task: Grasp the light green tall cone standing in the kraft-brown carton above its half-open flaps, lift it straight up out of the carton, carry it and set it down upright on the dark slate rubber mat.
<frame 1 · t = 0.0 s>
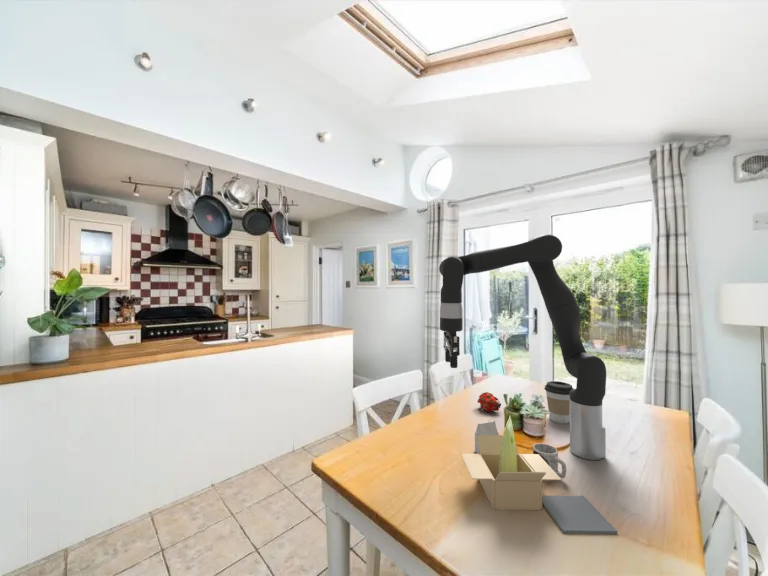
hand: (451, 364, 105), 29 cm above the table, fingers open, 8 cm apart
coffee cup: (559, 420, 132), on the table
light green tall cone: (507, 493, 84), resting in carton
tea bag: (486, 453, 105), on the table
dragon fruit: (489, 411, 142), on the table
mug: (550, 474, 93), on the table
mat: (574, 514, 76), on the table
carton: (507, 492, 84), on the table
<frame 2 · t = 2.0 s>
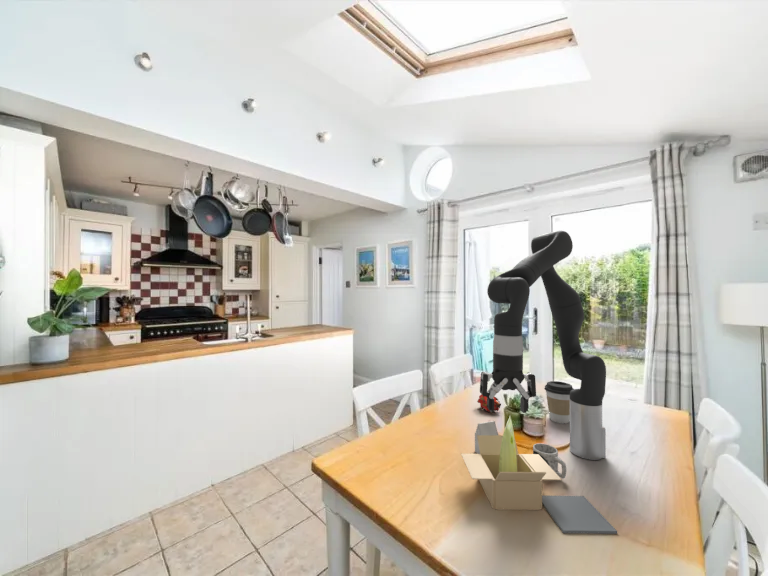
hand: (507, 411, 84), 22 cm above the table, fingers open, 8 cm apart
nothing on the table moved.
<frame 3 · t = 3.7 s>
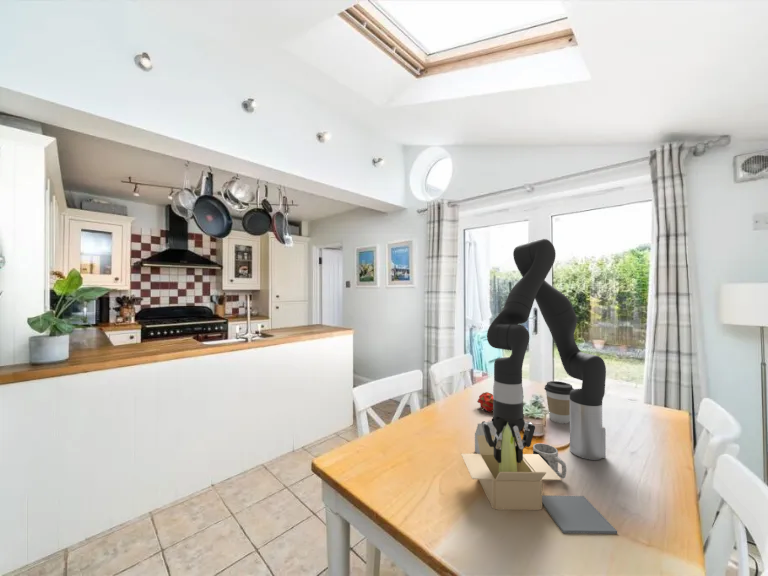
hand: (508, 461, 84), 8 cm above the table, fingers closed on light green tall cone, 4 cm apart
light green tall cone: (507, 493, 84), resting in carton, touching gripper
everything else where it was.
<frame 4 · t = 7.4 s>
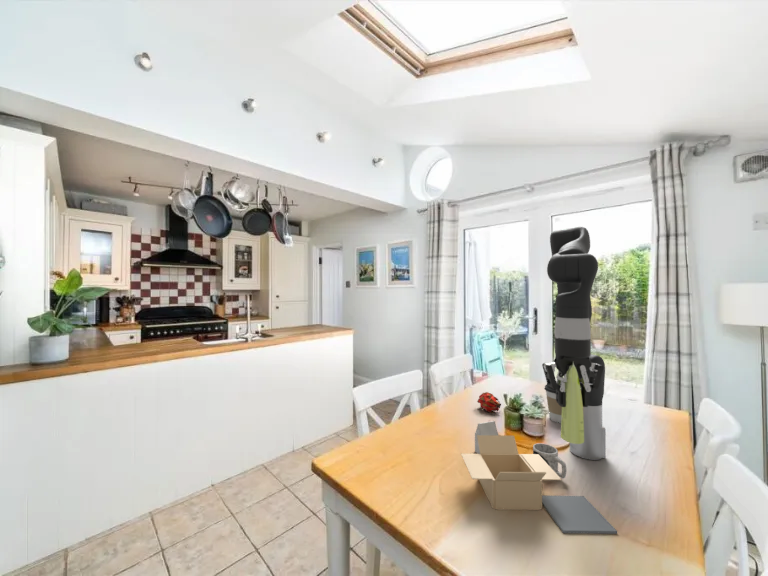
hand: (572, 405, 76), 26 cm above the table, fingers closed on light green tall cone, 4 cm apart
light green tall cone: (572, 441, 76), point 18 cm above the table, touching gripper
everything else where it was.
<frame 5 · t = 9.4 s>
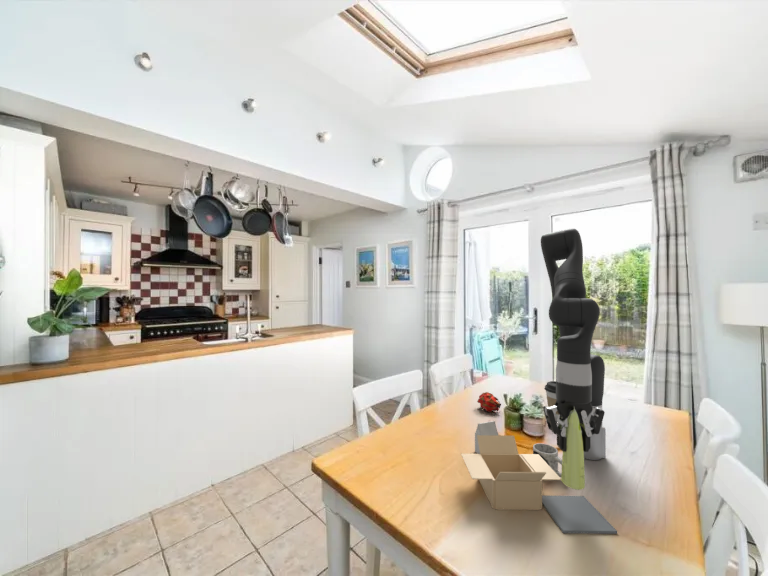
hand: (573, 449, 76), 15 cm above the table, fingers closed on light green tall cone, 4 cm apart
light green tall cone: (572, 485, 76), point 7 cm above the table, touching gripper
everything else where it was.
when the fingers open (10 cm above the table, at t = 10.9 s): light green tall cone stays where it is, resting on mat.
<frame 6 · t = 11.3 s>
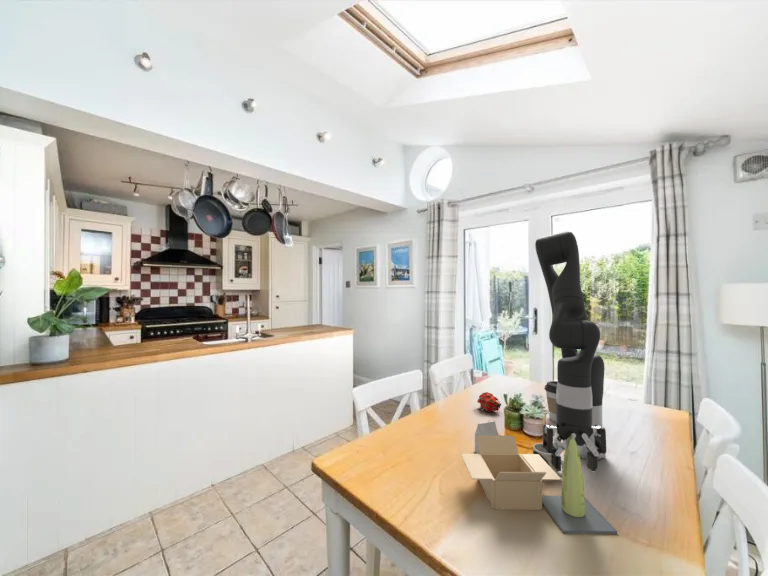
hand: (574, 469, 76), 11 cm above the table, fingers open, 8 cm apart
light green tall cone: (573, 512, 76), resting on mat
everything else where it was.
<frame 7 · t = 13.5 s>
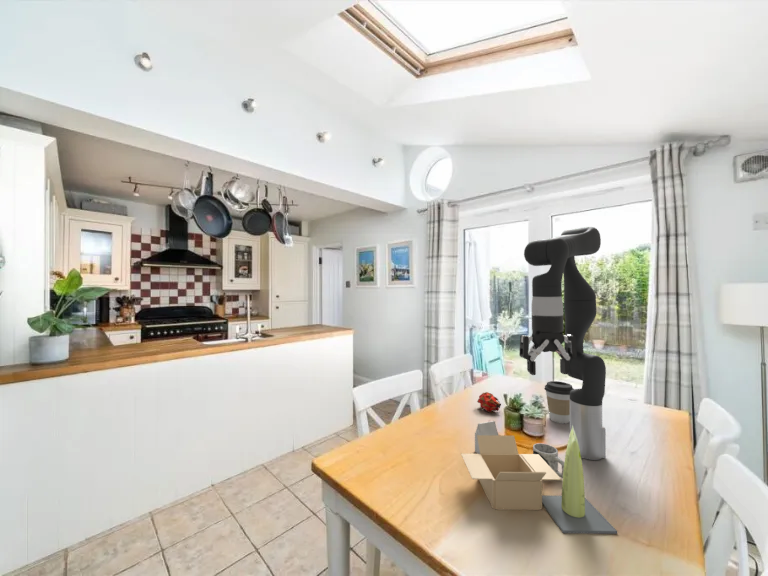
hand: (548, 374, 84), 32 cm above the table, fingers open, 8 cm apart
nothing on the table moved.
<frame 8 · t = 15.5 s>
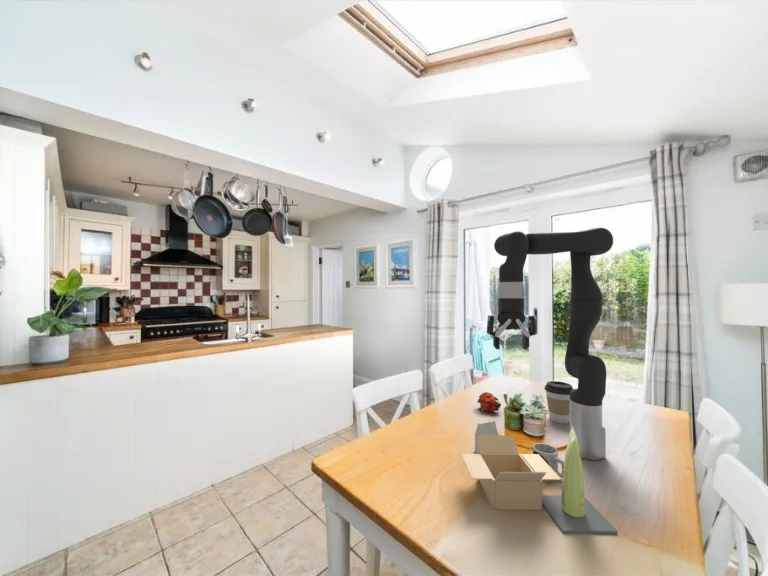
hand: (511, 349, 97), 36 cm above the table, fingers open, 8 cm apart
nothing on the table moved.
at the end: light green tall cone inside the target area on the mat (0.2 cm from its centre), point 0.4 cm above the mat's base; light green tall cone tilted 0°; the gripper is holding nothing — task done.
